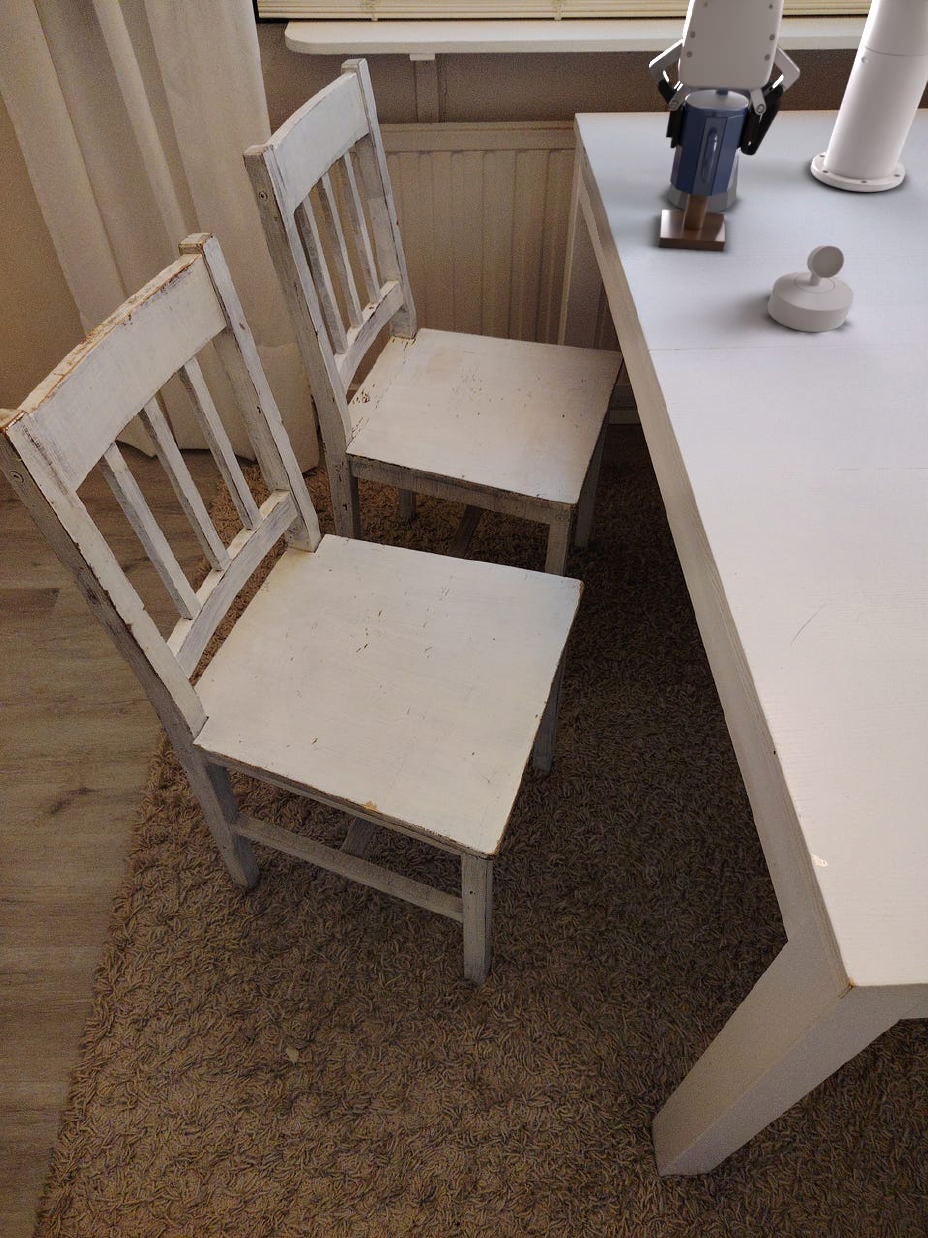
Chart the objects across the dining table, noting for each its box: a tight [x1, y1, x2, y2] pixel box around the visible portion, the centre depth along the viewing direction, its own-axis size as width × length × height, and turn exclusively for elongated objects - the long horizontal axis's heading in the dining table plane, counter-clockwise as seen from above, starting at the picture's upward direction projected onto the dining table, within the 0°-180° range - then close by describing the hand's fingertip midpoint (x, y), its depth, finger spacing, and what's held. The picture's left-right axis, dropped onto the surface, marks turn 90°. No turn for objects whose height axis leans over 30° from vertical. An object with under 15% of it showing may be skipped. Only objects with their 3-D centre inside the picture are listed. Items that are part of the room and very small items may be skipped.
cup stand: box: [658, 194, 726, 252], centre depth 100 cm, size 8×8×9 cm
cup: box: [669, 90, 749, 196], centre depth 94 cm, size 9×8×9 cm
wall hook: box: [767, 244, 855, 333], centre depth 87 cm, size 9×10×10 cm
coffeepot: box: [666, 80, 782, 213], centre depth 102 cm, size 15×9×18 cm, turn 36°
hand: (708, 144), depth 95 cm, fingers closed on cup, 7 cm apart
